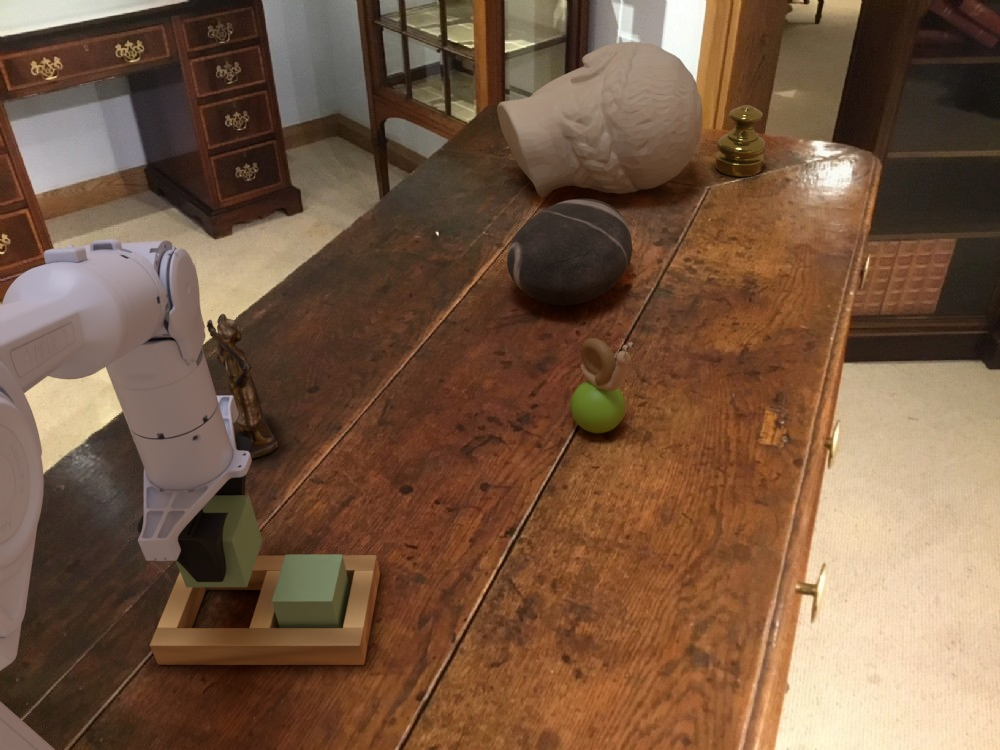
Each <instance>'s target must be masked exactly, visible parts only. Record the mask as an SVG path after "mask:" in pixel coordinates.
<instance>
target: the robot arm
mask: <svg viewBox="0 0 1000 750" xmlns="http://www.w3.org/2000/svg"><path fill="white" fill-rule="evenodd" d="M43 257H44V263H45V264H42V265H39V266H36V267H32V268H30V269H28V270H27V271H25V272H23V273H22V274H20V275H19V276H18V277H17V278H15V280H14V281H13V282H12V283H11V284H10V286H8V289H7V290H6V293H5V294H4V297H3V300H2V303H1V305H0V672H1V671H3V670H4V669H5V668H7V667H8V666H9V665H11V664H12V663H13V662H14V661H15V660H16V658H17V656H18V651H19V645H20V637H21V630H22V623H23V621H24V618H25V614H26V610H27V603H28V595H29V587H30V581H31V575H32V568H33V567H32V565H33V559H34V553H35V547H36V546H35V545H36V539H37V531H38V525H39V521H40V517H41V513H42V508H43V507H42V506H43V500H44V491H45V490H44V488H45V485H44V484H45V481H44V479H45V478H44V466H43V459H42V456H43V448H42V444H41V438H40V433H39V429H38V426H37V422H36V419H35V416H34V413H33V410H32V408H31V405H30V403H29V401H28V397H27V396H26V393H27V392H29V390H31V389H32V388H34V387H35V386H36V385H38V384H39V383H40V382H42V381H43V380H44V379H46V378H47V377H50V378H52V379H53V378H54V379H59V380H78V379H79V380H80V379H83V378H86V377H89V376H92V375H94V374H97V373H98V372H100V371H101V370H104V369H105V370H106V372H107V375H108V377H109V379H110V382H111V385H112V388H113V390H114V392H115V396H116V398H117V400H118V404H119V406H120V408H121V411H122V413H123V416H124V418H125V422H126V424H127V426H128V429H129V432H130V434H131V437H132V440H133V442H134V446H135V448H136V450H137V453H138V456H139V458H140V460H141V463H142V466H143V513H142V516H141V517H140V519H139V522H138V523H137V526H136V528H137V532H138V534H139V536H138V539H137V543H138V545H139V547H140V549H141V552H142V554H143V558H144V559H145V562H176V560H177V561H178V562H179V563H180V564H181V565H182V566H183V567H184V568H185V569H186V570H187V572H188V573H189V574H190V575H191V576H192V577H193V578H194V579H195V580H196V581H197V582H222V581H223V580H224V578H225V574H226V560H225V554H224V549H223V528H224V523H225V520H226V517H227V515H228V513H204V512H203V509H202V508H203V507H204V506H205V505H206V504H207V503H208V501H209V500H210V499H211V498H212V497H213V496H214V495H246V481H247V474H248V472H249V470H250V468H251V467H250V466H251V464H252V461H253V458H252V459H251V452H252V450H253V444H252V441H251V439H249V438H247V437H235V434H234V426H233V424H235V423H237V422H236V420H237V418H238V415H239V414H238V410H237V407H236V403H235V400H234V396H231V395H217V392H216V389H215V386H214V382H213V380H212V375H211V372H210V369H209V366H208V362H207V359H206V356H205V351H204V348H203V346H204V343H205V341H206V331H205V329H206V326H205V322H204V318H203V315H202V310H201V299H200V297H201V296H200V285H199V284H200V283H199V277H198V272H197V268H196V264H195V262H193V259H192V257H191V255H190V253H189V252H188V251H187V250H186V249H185V248H182V247H178V248H177V247H176V246H175V245H173V242H171V241H170V240H167V239H165V240H148V241H147V240H146V241H130V242H121V241H120V240H119V239H117V238H109V239H98V240H94V241H92V242H91V243H90V244H84V245H82V246H74V245H73V244H72V243H71V244H67V245H66V246H65V247H54V248H50V249H47V250H45V251H44V252H43ZM0 750H56V749H55V748H54V747H53V746H52V745H51V744H50V743H48V742H47V741H46V740H45V739H44V738H43V737H42V736H41V735H39V734H38V733H37V732H36V731H35V730H33V728H32V727H30V726H29V725H28V724H27V722H25V721H24V720H22V719H21V718H20V717H19V716H18V715H17V714H16V713H14V712H13V711H12V710H11V709H10V708H9V707H7V705H5V703H3V702H2V701H1V700H0Z"/></svg>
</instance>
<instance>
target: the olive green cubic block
mask: <svg viewBox="0 0 1000 750" xmlns="http://www.w3.org/2000/svg"><path fill="white" fill-rule="evenodd" d="M202 509H203V512H204V513H228V515H227V517H226V520H225V523H224V528H223V549H224V554H225V560H226V574H225V578H224V580H223V581H222V582H197V581H196V580H195V579H194V578H193V577H192V576H191V575H190V574H189V573H188V572H187V570H186V569H185V568H184V567H183V566H182V565H181V564H180V563H179V562H178V561H177V560H176V561H175V562H176V565H177V567H178V570H179V573H181V575H182V578H183V580H184V583H185V586H186V587H247V586H248V583H249V580H250V577H251V574H252V571H253V568H254V565H255V562H256V559H257V556H259V552H260V549H261V547H262V544H263V538H262V534H261V530H260V526H259V524H258V521H257V518H256V514H255V511H254V507H253V504H252V500H251V497H250V495H249V494H245V495H214V496H213V497H212V498H211V499H210V500H209V501H208V503H207V504H206V505H205V506H204V507H203V508H202Z"/></svg>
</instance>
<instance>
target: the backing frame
mask: <svg viewBox="0 0 1000 750" xmlns="http://www.w3.org/2000/svg"><path fill="white" fill-rule="evenodd" d="M285 555H286V554H285ZM285 555H283V554H282V555H275V554H274V555H257V559H256V562H255V565H254V568H253V571H252V574H251V577H250V580H249V583H248V586H247V587H186V586H185V583H184V580H183V578H182V575H181V573H180V572H178V576H177V578H176V580H175V582H174V585H173V588H172V590H171V593H170V594H169V598H168V600H167V602H166V604H165V607H164V609H163V611H162V614H161V616H160V619H159V621H158V624H157V626H156V629H155V631H154V634H153V636H152V638H151V641H150V643H149V647H150V649H151V653H152V654H153V656H154V658H155V661H156V663H157V665H158V666H364V665H365V664H366V657H367V651H368V647H369V640H370V634H371V629H372V624H373V623H372V622H373V617H374V611H375V605H376V599H377V596H378V595H377V594H378V588H379V583H380V577H381V573H380V567H379V562H378V556H377V555H376V554H342V555H343V559H344V563H345V568H346V573H347V577H348V582H349V587H350V595H349V600H348V605H347V610H346V615H345V620H344V624H343V628H280V627H279V623H278V620H277V617H276V613H275V610H274V607H273V604H272V599H273V596H274V592H275V589H276V585H277V582H278V578H279V575H280V572H281V568H282V565H283V561H284V558H285ZM206 591H260V592H259V595H258V599H257V602H256V605H255V607H254V608H255V609H254V612H253V616H252V618H251V622H250V625H249V627H214V628H213V627H193V626H194V624H195V621H196V618H197V615H198V613H199V611H200V608H201V604H202V602H203V600H204V598H205V594H206Z"/></svg>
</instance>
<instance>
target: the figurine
mask: <svg viewBox="0 0 1000 750" xmlns="http://www.w3.org/2000/svg"><path fill="white" fill-rule="evenodd" d="M216 322H217V326H214V323H213V320H212V319H209V320H208V321H207V323H206V328H207V331H208V333H209V336H210V337H211V338H212V339H213V340H215V341H216V342H217V344H216V353H215V358H216V359H217V360H218V362H219V363H220V364H221V365H223V367H224V369H225V372H226V375H227V377H228V383H227V385H228V388H229V391H230V396H234V400H235V403H236V407H237V410H238V414H239V415H238V418H237V420H236V422H234V423H233V426H234V434H235V437H247V438H249V439H251V441H252V444H253V450H252V452H251V459H252V460H253V459H257V458H263V457H266V456H268V455H271V454H273V453H274V452H275V451H276V450H277V449H278V447H279V444H278V441H277V439H276V437H275V436H274V434H273V433H272V431H271V429H270V426H269V424H268V422H267V420H266V418H265V417H264V413H263V412H264V411H263V409H262V406H261V400H260V397H259V394H258V390H257V388H256V385H255V381H254V378H253V377H252V372H251V370H252V367H253V365H252V364H251V363H250V362H248V357H247V353H246V352H245V351H243V349H240V348H239V347H238V346H236V343H239V342H241V341H242V337H243V334H242V333H241V331H240V329H241V324H239V323H238V321H236V320H234V319H231V318H228V317H227V316H226V314H225V313H221V314H220V315H218V318H217V321H216Z"/></svg>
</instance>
